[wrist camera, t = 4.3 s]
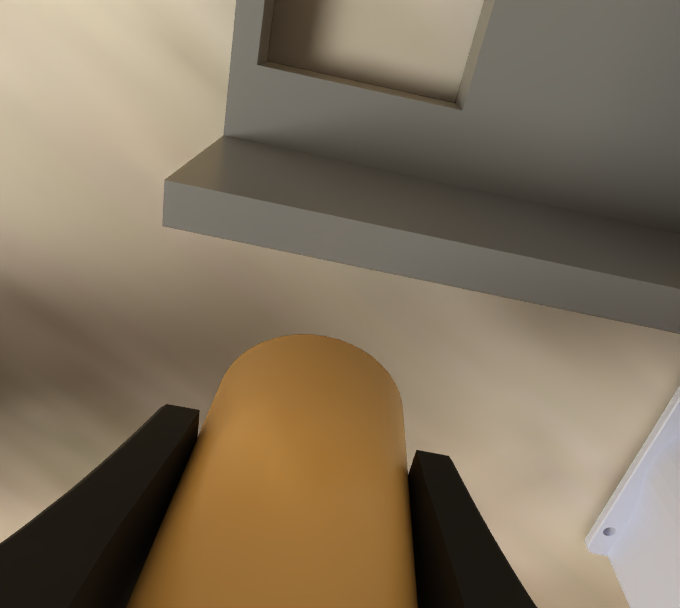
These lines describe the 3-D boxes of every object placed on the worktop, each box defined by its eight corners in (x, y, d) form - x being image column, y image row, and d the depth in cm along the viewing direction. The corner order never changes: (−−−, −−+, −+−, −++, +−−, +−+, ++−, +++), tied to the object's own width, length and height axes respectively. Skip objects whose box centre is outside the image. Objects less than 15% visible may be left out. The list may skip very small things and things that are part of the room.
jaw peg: (380, 495, 13) (385, 841, 7) (210, 465, 12) (89, 796, 7) (424, 355, 11) (474, 682, 5) (225, 317, 11) (76, 616, 5)
